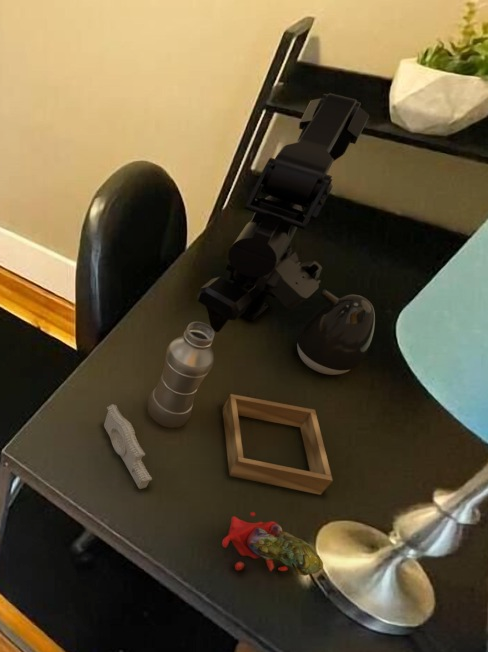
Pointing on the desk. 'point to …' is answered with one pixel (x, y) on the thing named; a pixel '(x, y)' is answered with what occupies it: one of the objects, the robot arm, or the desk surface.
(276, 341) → the desk surface
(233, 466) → the square wooden frame
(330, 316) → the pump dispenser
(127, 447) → the garden wall model
